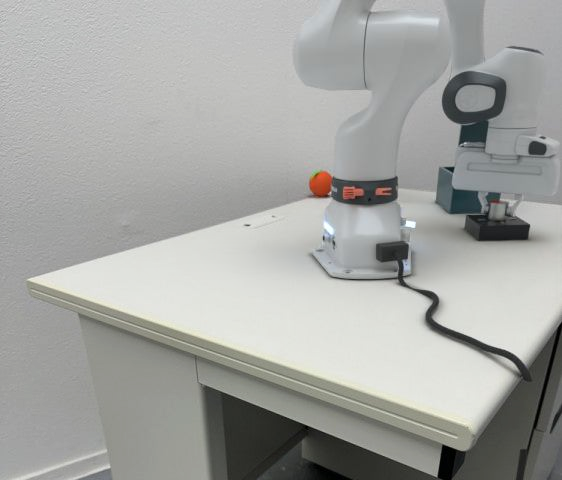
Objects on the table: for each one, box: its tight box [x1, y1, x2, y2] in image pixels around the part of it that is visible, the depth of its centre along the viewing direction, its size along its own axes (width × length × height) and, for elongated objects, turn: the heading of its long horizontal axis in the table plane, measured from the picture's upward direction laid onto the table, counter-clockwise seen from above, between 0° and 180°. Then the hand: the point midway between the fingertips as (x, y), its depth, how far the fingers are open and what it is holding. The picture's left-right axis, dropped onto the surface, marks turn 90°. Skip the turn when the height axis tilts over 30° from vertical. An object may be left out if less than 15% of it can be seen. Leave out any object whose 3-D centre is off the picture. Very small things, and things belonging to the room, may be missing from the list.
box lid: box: [454, 120, 489, 166], centre depth 123 cm, size 16×12×1 cm
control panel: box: [463, 214, 531, 242], centre depth 114 cm, size 10×10×3 cm
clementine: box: [308, 169, 333, 197], centre depth 154 cm, size 8×7×7 cm
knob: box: [488, 199, 510, 221], centre depth 112 cm, size 4×4×4 cm
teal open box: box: [435, 165, 502, 215], centre depth 136 cm, size 15×12×9 cm
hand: (498, 214), depth 113 cm, fingers closed on knob, 3 cm apart
